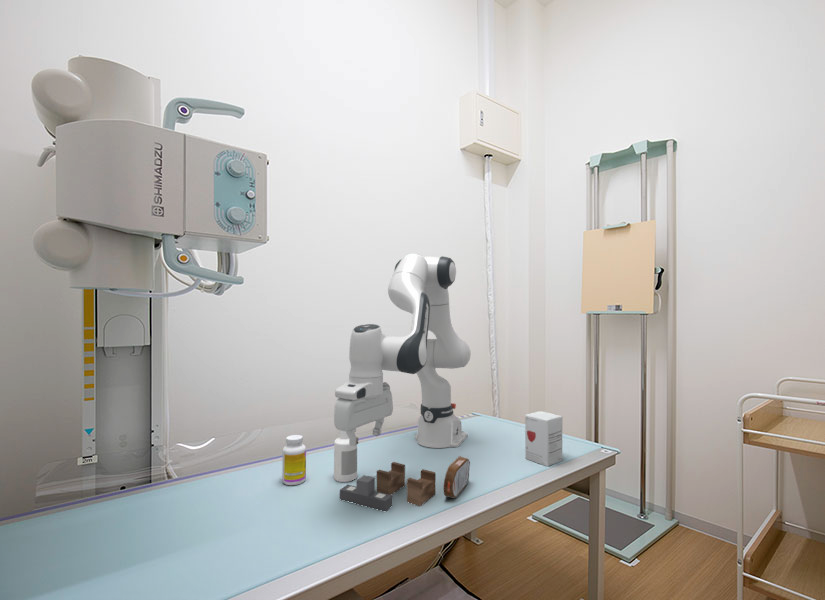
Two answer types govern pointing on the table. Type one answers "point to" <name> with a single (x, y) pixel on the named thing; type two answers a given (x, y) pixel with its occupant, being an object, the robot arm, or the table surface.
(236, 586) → the table surface
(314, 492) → the table surface
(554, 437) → the supplement box
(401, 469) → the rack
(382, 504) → the power strip
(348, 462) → the spray bottle
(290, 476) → the supplement bottle
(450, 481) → the tin
